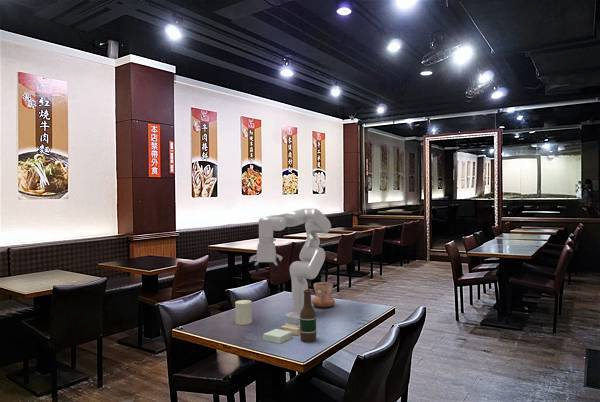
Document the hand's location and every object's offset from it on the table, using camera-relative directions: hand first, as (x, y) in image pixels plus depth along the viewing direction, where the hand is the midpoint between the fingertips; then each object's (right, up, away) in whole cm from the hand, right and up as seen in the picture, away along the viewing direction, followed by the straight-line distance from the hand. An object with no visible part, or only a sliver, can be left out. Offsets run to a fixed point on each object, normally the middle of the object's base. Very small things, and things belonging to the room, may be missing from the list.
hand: (266, 272), depth 231 cm
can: (-13, -29, +9) cm, 34 cm away
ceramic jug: (+33, -29, +43) cm, 61 cm away
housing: (+15, -26, -10) cm, 31 cm away
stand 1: (+7, -29, -21) cm, 36 cm away
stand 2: (+15, -29, -10) cm, 34 cm away
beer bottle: (+22, -29, -24) cm, 43 cm away
